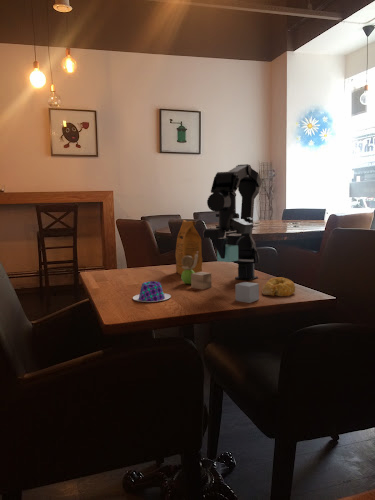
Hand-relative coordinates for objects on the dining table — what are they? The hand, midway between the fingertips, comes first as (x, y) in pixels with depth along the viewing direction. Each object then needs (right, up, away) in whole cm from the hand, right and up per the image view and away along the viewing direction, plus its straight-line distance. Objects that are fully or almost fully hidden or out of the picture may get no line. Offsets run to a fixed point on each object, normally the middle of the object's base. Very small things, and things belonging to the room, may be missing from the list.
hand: (227, 257), depth 138 cm
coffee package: (-13, -7, +34) cm, 37 cm away
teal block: (0, -1, 0) cm, 1 cm away
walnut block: (-9, -11, +6) cm, 15 cm away
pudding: (-25, -13, -8) cm, 29 cm away
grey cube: (+5, -13, -13) cm, 19 cm away
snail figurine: (-12, -10, +13) cm, 20 cm away
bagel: (+16, -12, -5) cm, 20 cm away
